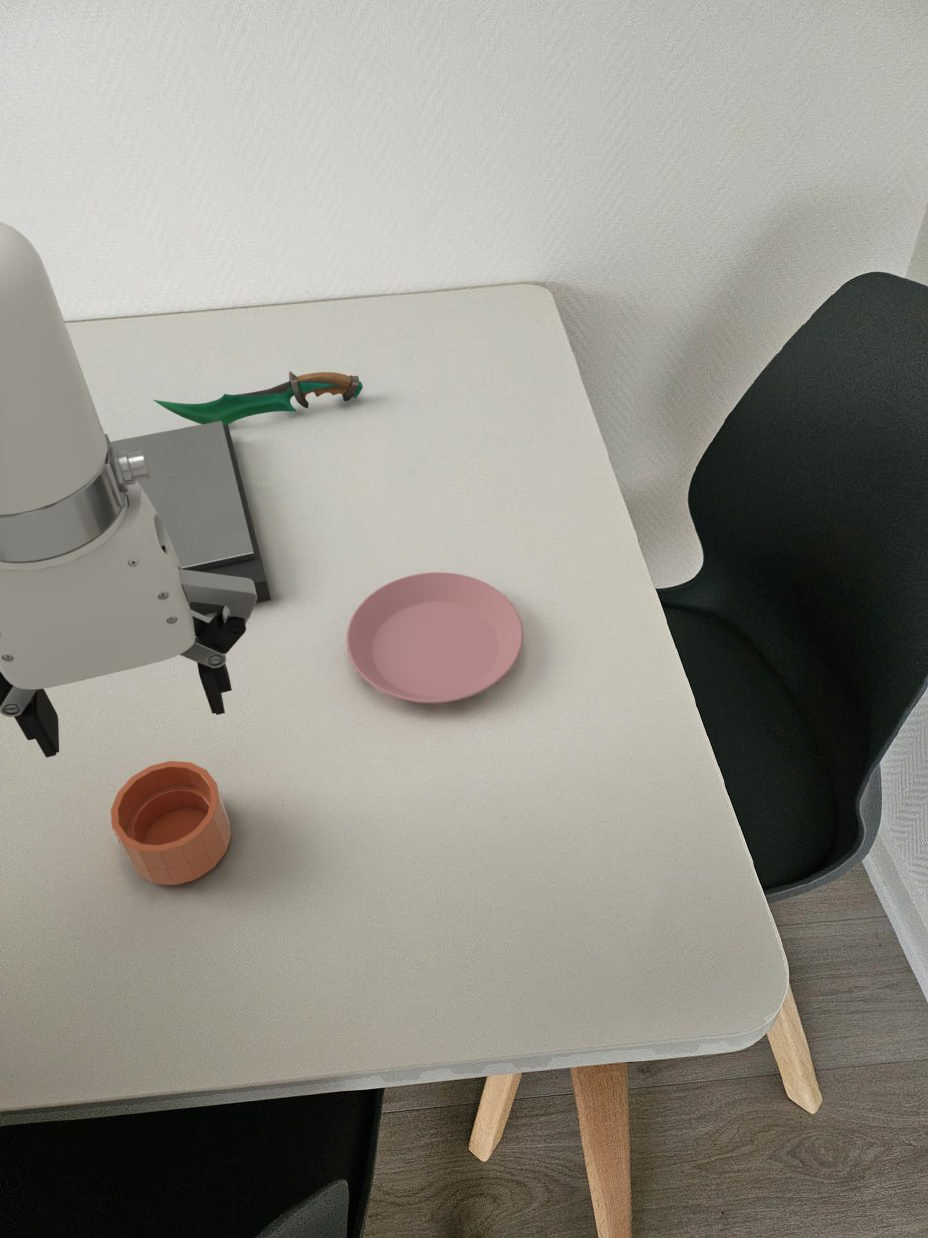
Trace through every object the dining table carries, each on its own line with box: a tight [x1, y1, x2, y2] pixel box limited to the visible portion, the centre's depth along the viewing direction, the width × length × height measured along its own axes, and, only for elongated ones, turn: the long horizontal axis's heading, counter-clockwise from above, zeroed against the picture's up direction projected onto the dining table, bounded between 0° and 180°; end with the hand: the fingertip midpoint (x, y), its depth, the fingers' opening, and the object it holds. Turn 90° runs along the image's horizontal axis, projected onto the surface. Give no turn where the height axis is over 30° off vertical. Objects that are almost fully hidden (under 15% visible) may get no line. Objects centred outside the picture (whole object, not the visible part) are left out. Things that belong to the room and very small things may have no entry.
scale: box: [110, 421, 272, 616], centre depth 91 cm, size 14×24×3 cm, turn 17°
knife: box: [153, 371, 364, 426], centre depth 102 cm, size 21×2×5 cm, turn 108°
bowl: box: [110, 760, 232, 886], centre depth 67 cm, size 7×7×5 cm
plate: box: [346, 571, 524, 704], centre depth 80 cm, size 14×14×2 cm
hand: (135, 717), depth 59 cm, fingers open, 9 cm apart
